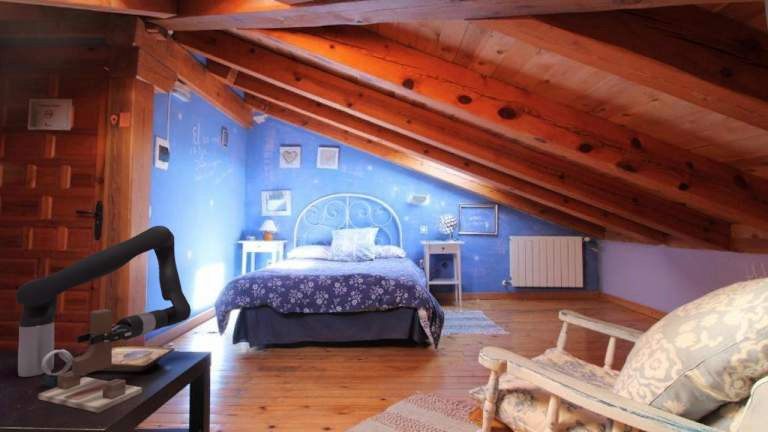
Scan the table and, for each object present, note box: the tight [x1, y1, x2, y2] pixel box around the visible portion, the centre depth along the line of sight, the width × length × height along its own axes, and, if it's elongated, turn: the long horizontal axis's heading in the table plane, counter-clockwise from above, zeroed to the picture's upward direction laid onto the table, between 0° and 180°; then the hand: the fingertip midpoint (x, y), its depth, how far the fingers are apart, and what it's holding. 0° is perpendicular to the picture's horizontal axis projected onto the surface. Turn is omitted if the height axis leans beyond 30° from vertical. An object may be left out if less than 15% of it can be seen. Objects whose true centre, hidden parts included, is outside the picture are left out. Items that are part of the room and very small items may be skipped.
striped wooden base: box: [37, 370, 143, 414], centre depth 113 cm, size 26×13×6 cm, turn 72°
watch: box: [41, 348, 74, 389], centre depth 122 cm, size 6×8×11 cm
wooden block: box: [71, 308, 113, 377], centre depth 114 cm, size 9×4×18 cm, turn 144°
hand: (83, 340), depth 111 cm, fingers closed on wooden block, 4 cm apart
